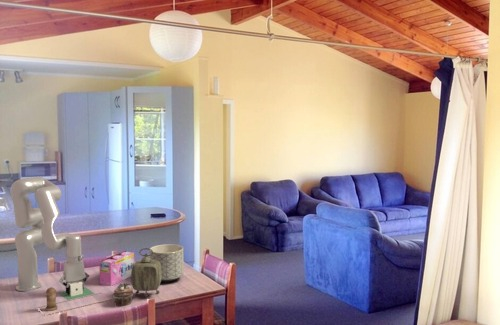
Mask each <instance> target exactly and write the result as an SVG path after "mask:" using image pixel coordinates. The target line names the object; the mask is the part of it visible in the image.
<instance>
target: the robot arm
mask: <svg viewBox="0 0 500 325" xmlns="http://www.w3.org/2000/svg"><path fill="white" fill-rule="evenodd" d="M29 194H30V195H31V194H34V198H35V200H36V203H37V206H38V207H32V201H31V199H30V198H29V196H28V195H29ZM10 197H11V200H12V205H13V213H14V220H15V225H16V227H17V228H20V229H25V228H28V229H25V230H22V231H20V232H18V233H17V234H16V235H15V237H14V244H15V248H16V255H17V275H18V276H17V277H18V284H17V285H16V286H15V290H16V291H18V292H29V291H34V290H38V289H39V288H41V287H42V282H39V279H38V276H39V275H38V255H37V252H36V249H35V248H34V247H35V246H38V245H41V244H43V243H44V245H45V247H46V248H47V249H48V250H49V251H51V252H54V251H58V250H61V249H64V248H65V261H64V263H63V271H62V272H63V273H62V277H60V279H59V280H58V282H59V283H60V284H62V285H63V286H64V287H65V291H66V293H67V294H68V295H70V287H69V284H70V282H71V281H76V280H79V281H81V282H82V286H83V289H84V287H85V286H84V285H85V282H86V281H87V280H88V278H89V277H90V275H89V274H88V273H87V272H86V270H85V263H84V260H83V258H85V254H82V237H81V235H80V234H71V233H68V232H63V233H59V234H56V235H55V233H54V228H53V226H54V222H55V221H56V219H57V218H58V217H59V216H60V215H61V213H60V209H59V207H58V205H57V201H59V200H60V199H61V198H62V191H61V189H60V187H59V186H57V185H56V184H54V183H53V182H52V181H51V180H47V179H46V178H44V177H42V176H33V177H32V176H30V177H25V178H19V179H17V180H16V181H14V182H13V183H12V184H11V187H10ZM29 227H31V228H29Z"/></svg>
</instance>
